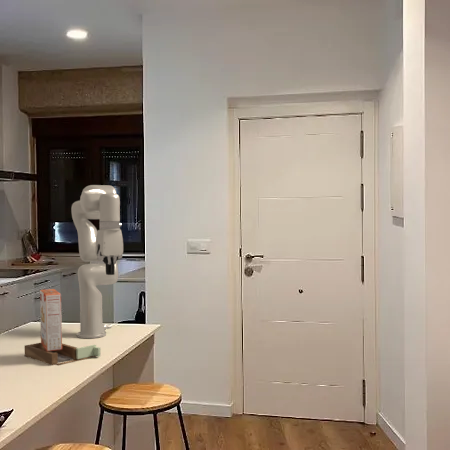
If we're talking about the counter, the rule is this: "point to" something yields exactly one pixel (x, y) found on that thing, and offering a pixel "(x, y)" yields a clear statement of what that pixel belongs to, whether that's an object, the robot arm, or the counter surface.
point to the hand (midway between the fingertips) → (110, 274)
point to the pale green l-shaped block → (87, 351)
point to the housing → (52, 354)
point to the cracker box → (51, 319)
